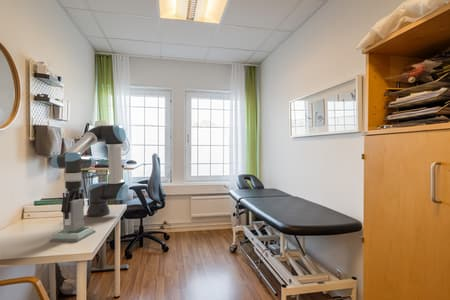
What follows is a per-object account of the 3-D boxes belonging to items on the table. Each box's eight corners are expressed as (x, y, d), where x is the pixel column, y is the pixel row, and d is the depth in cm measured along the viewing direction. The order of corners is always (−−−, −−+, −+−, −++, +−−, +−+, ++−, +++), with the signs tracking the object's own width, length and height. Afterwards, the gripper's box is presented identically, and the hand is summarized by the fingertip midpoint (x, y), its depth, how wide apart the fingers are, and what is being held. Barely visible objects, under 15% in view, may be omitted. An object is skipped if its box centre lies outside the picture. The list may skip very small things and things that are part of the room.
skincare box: (73, 231, 135) (73, 201, 135) (62, 231, 136) (61, 201, 136) (85, 226, 143) (84, 198, 143) (74, 226, 145) (73, 198, 144)
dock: (70, 231, 148) (70, 225, 148) (95, 232, 147) (95, 225, 147) (49, 241, 132) (49, 234, 132) (77, 242, 131) (77, 235, 131)
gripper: (79, 178, 151) (79, 217, 150) (52, 183, 129) (52, 228, 129) (91, 178, 150) (91, 217, 150) (66, 183, 129) (66, 228, 129)
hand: (73, 222), depth 140 cm, fingers closed on skincare box, 8 cm apart
